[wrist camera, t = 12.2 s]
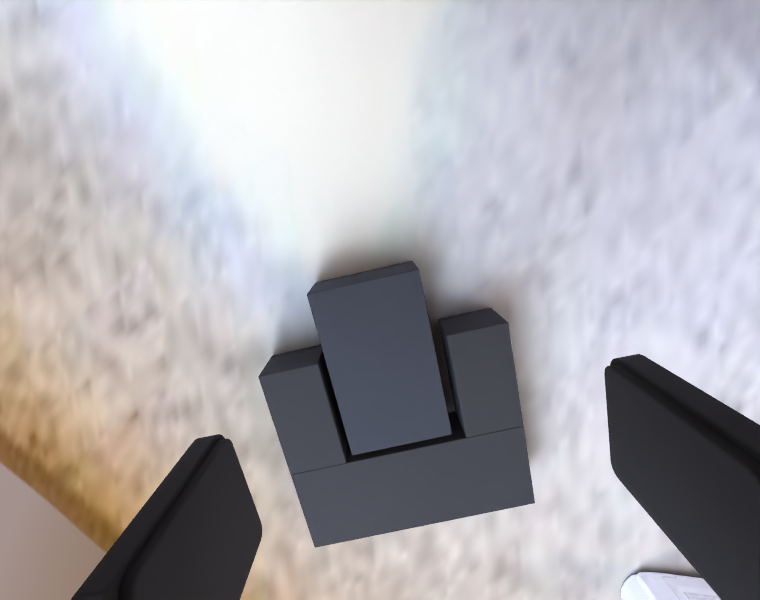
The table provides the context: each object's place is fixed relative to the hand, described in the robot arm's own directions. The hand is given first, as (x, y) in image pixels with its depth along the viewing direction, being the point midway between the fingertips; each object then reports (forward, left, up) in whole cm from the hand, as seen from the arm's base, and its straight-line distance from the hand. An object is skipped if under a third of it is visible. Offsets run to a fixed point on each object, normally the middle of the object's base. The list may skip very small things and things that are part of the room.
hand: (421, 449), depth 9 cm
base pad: (+8, -1, -14) cm, 16 cm away
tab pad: (+3, -1, -14) cm, 15 cm away
